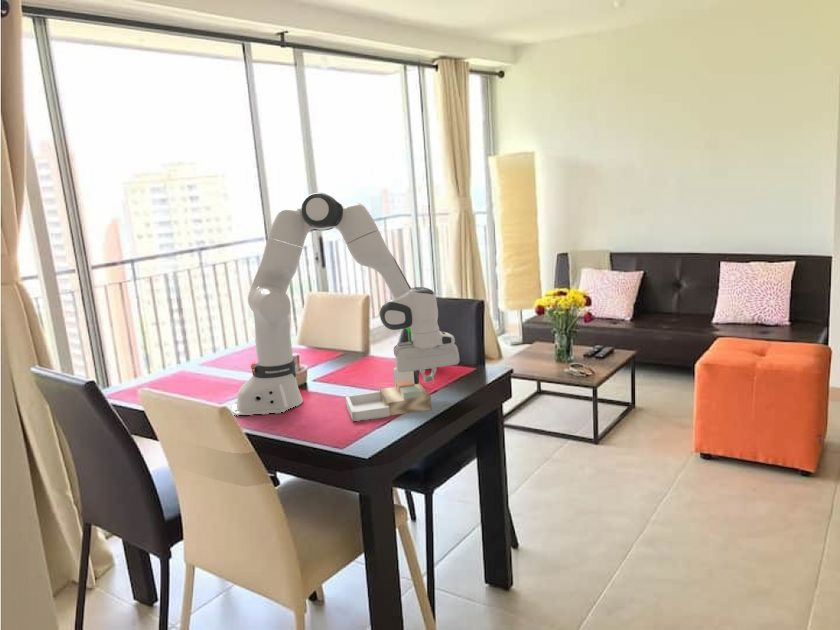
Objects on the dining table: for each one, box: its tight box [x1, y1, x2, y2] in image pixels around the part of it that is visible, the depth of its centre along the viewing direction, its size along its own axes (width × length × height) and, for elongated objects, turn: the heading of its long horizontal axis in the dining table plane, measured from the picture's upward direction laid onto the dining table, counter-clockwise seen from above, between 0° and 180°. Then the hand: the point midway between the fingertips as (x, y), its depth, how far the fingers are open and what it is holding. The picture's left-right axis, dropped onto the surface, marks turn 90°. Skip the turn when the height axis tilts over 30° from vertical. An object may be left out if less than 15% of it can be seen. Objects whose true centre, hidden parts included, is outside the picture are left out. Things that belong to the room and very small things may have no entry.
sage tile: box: [400, 386, 420, 399], centre depth 202 cm, size 5×5×2 cm
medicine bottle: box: [392, 367, 420, 387], centre depth 223 cm, size 7×7×12 cm
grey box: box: [344, 390, 391, 422], centre depth 203 cm, size 11×16×3 cm
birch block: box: [379, 383, 432, 416], centre depth 205 cm, size 13×14×4 cm
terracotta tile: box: [396, 380, 415, 392], centre depth 208 cm, size 5×5×2 cm
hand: (428, 381), depth 210 cm, fingers closed
